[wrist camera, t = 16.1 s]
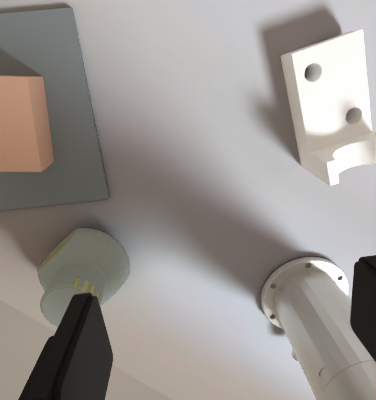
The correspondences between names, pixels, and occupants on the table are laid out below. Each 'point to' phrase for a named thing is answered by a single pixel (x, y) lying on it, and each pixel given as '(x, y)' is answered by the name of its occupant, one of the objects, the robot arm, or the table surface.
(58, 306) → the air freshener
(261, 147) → the table surface
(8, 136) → the card box
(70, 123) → the mat
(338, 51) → the bracket
